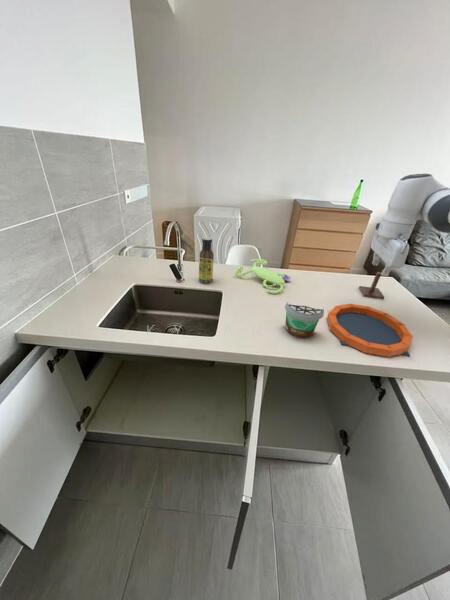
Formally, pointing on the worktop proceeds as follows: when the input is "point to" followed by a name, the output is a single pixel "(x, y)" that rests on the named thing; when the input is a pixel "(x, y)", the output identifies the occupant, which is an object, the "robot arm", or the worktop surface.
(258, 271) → the figurine
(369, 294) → the post
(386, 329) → the mat
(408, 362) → the worktop surface
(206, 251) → the sauce bottle
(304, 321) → the food container
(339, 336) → the ring
